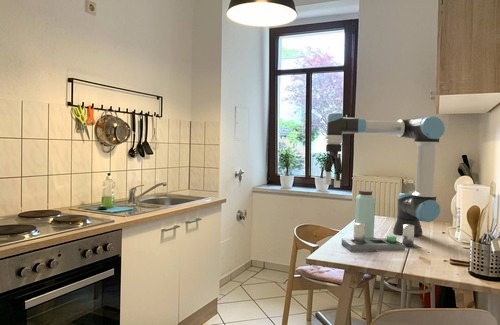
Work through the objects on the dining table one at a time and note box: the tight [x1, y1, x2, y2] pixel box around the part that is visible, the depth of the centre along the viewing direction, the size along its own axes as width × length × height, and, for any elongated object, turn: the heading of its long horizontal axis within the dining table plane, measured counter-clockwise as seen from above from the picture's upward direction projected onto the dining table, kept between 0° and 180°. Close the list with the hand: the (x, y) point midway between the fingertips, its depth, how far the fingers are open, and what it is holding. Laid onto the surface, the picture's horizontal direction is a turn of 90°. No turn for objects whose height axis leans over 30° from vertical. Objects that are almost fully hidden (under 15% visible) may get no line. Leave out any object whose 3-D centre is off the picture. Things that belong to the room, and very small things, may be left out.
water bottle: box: [354, 189, 376, 238], centre depth 192 cm, size 10×10×25 cm
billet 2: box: [401, 224, 415, 247], centre depth 177 cm, size 5×5×10 cm
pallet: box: [341, 237, 406, 253], centre depth 174 cm, size 26×12×3 cm, turn 96°
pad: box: [405, 243, 423, 249], centre depth 178 cm, size 10×10×1 cm
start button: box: [386, 235, 397, 242], centre depth 175 cm, size 4×4×2 cm
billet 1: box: [353, 222, 365, 244], centre depth 173 cm, size 5×5×10 cm
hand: (332, 185), depth 184 cm, fingers open, 13 cm apart
